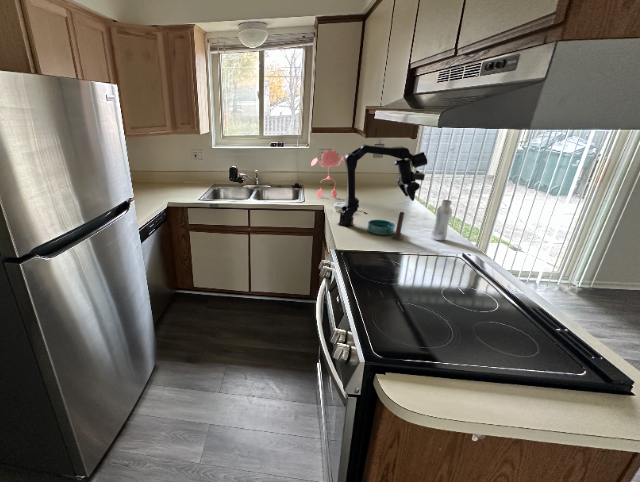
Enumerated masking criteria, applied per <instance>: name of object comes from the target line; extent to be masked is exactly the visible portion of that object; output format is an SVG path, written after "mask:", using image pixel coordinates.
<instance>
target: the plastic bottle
mask: <svg viewBox="0 0 640 482" xmlns="http://www.w3.org/2000/svg"><path fill="white" fill-rule="evenodd" d="M451 205H452V200H449V199H442V201H441V205H440V206H439V207H437V209H436V213H435V223H434V226H433V229H432V231H431V234H430V235H431V238H432V239H433V240H436V241H444V240H446V239H447V236H448V227H449V222H450V220H451V218H452V214H453V210H452V207H451Z"/></svg>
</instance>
